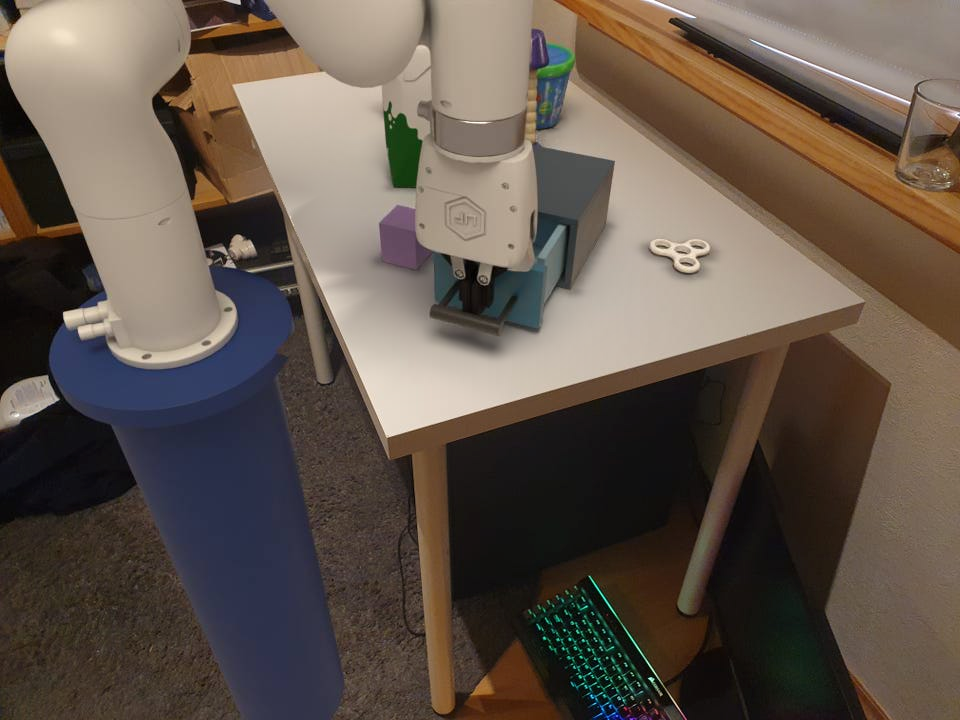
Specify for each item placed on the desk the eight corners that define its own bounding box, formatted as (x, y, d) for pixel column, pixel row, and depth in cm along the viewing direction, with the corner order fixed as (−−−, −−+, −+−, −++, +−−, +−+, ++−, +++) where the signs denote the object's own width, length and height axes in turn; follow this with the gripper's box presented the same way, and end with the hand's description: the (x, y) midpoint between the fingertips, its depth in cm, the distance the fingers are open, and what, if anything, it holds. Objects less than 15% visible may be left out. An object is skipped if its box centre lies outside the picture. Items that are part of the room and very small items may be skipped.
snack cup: (548, 147, 106) (554, 76, 100) (482, 133, 110) (483, 64, 103) (582, 109, 117) (590, 42, 110) (521, 97, 120) (524, 32, 114)
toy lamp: (510, 161, 103) (516, 37, 92) (508, 147, 106) (514, 25, 95) (545, 161, 103) (554, 37, 92) (541, 147, 106) (550, 25, 96)
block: (416, 270, 82) (415, 231, 79) (381, 261, 83) (378, 222, 80) (433, 250, 85) (432, 212, 82) (399, 242, 86) (397, 204, 83)
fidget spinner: (694, 277, 82) (696, 271, 81) (639, 260, 84) (640, 255, 84) (712, 247, 86) (713, 241, 86) (659, 233, 89) (660, 227, 88)
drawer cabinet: (570, 289, 80) (578, 220, 74) (463, 263, 83) (463, 195, 78) (605, 226, 90) (615, 160, 84) (509, 205, 94) (512, 140, 88)
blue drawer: (518, 364, 69) (523, 305, 65) (409, 333, 72) (406, 276, 68) (577, 260, 83) (584, 206, 78) (483, 238, 86) (485, 185, 81)
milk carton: (453, 192, 96) (452, 31, 83) (384, 190, 96) (372, 29, 83) (457, 162, 102) (457, 8, 89) (393, 159, 102) (383, 6, 89)
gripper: (374, 127, 58) (389, 312, 70) (553, 162, 54) (537, 351, 66) (415, 94, 64) (423, 271, 76) (582, 123, 60) (562, 306, 72)
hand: (476, 308), depth 71 cm, fingers closed
